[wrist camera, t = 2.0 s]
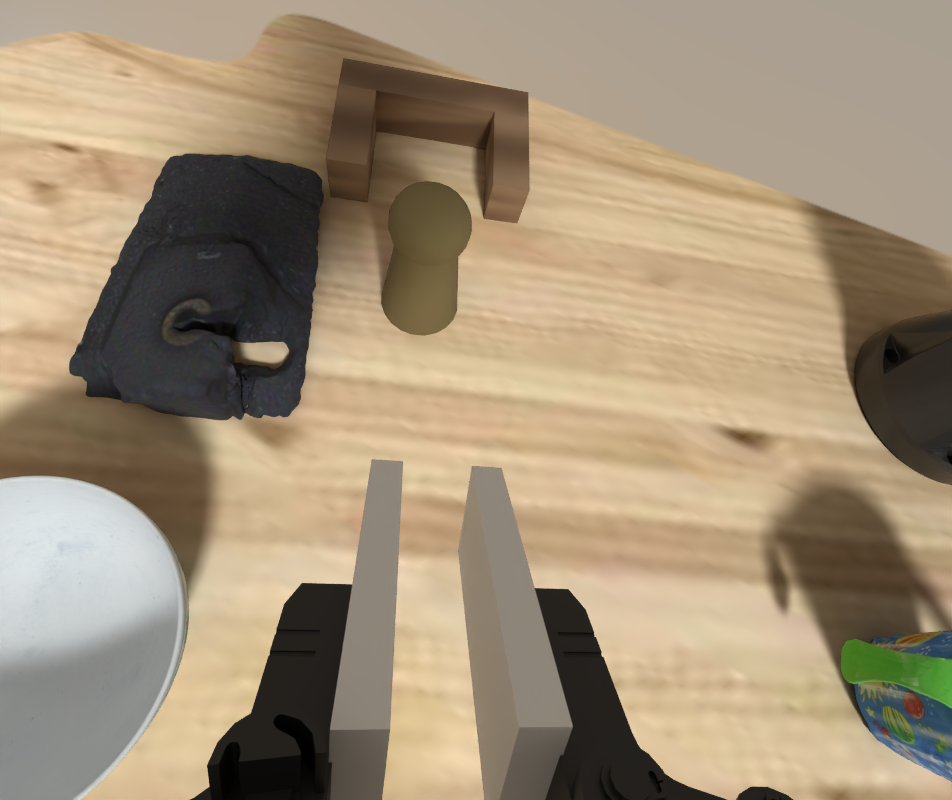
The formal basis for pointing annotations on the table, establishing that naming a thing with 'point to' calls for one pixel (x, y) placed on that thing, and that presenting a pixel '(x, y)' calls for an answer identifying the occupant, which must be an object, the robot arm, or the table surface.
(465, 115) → the walnut pocket
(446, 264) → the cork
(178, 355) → the dark slate chunk
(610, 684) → the robot arm
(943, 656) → the snack cup
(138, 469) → the table surface
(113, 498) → the chinaware
